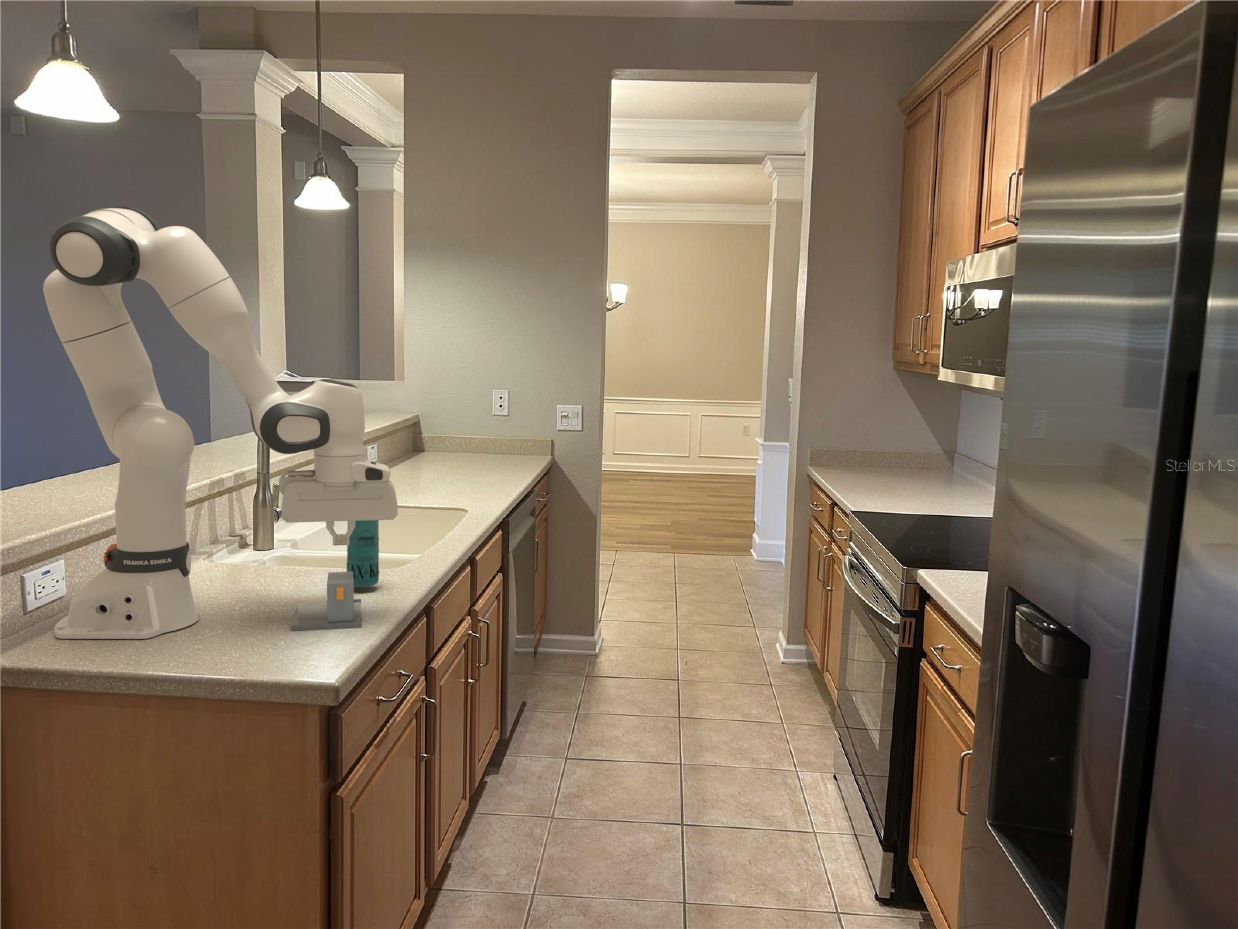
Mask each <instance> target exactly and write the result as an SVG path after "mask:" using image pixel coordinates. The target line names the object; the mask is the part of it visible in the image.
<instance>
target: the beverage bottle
mask: <svg viewBox="0 0 1238 929" xmlns="http://www.w3.org/2000/svg"><path fill="white" fill-rule="evenodd" d="M379 523H380V520H365V521H355V528H354V530H353V532H352V533H351V535H350V536H349V540H350V543H349V545H346V547H347V548H346V572H353V587H360V588H361V587H370V586H374V585H377V584H378V582H379V579H380V565H379V564H380V561H379V560H380V550H379V549H380V547H379V546H380V544H379V542H380V537H379V529H380V528H379ZM348 529H349V527H348V526H347V530H348Z"/></svg>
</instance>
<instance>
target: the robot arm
mask: <svg viewBox="0 0 1238 929" xmlns="http://www.w3.org/2000/svg"><path fill="white" fill-rule="evenodd" d="M49 251H50V253H49V254H50V256H51V257H50V258H51V261H52V262H53V265H54V266H55V267H56V268H55V270H53V271H51V273H49V275H48V276H47V277H46V278H45V280H44V281H43V285H42V290H43V295H44V299H45V304H46V306H47V310H48V313H49V315H50V319H51V321H52V324H53V326H54V329H55V331H56V333H57V334H56V335H57V336H58V337H59V340H60V342H61V344H62V346H63V348H64V351H65V352H66V355H67V356H68V358H69V360H70V363H71V365H72V366H73V369H74V370H75V372H76V374H77V376H78V378H79V380H80V382H81V384H82V387H83V389H84V392H85V394H86V397H87V400H88V402H89V405H90V407H91V411H92V413H93V415H94V418H95V420H96V423H97V425H98V427H99V430H100V432H101V434H102V437H103V439H104V441H105V443H106V445H107V448H108V449H109V451H110V452H111V453H112V454H113V455H114V456H115V457H116V458H118V459H119V476H118V485H117V486H118V487H117V492H116V493H117V494H116V499H115V502H114V512H115V514H114V515H115V517H114V518H115V534H116V535H115V538H116V543H113V544H110V545H109V546H108V547H107V548H106V552H104V554H103V555H104V556H102V558H103V559H102V561H103V563H104V567H105V569H103V570H102V571H101V572H99V573H98V574H97V575H95V576H94V577H92V578H91V579H90V580H89V581H87V582H86V583H85V584H84V585H82V586H81V587H80V588H79V589H78V590H76V592H75V593H74V594H73V596H72V598H71V602H70V605H69V608H68V609H69V610H68V615H66V616H64V617H63V618H61V619H60V620H59V621H58V622H57V623H56V624H55V626H54V627H53V628H54V629H53V636H54V637H55V638H57V639H63V640H64V639H66V640H67V639H68V640H69V639H72V640H73V639H79V640H81V639H82V640H87V639H89V640H90V639H91V640H94V639H95V640H96V639H98V640H99V639H101V640H106V639H107V640H114V639H115V640H124V639H125V640H145V639H150V638H154V637H156V636H159V635H161V634H166V633H170V632H173V631H176V630H182V629H184V628H186V627H189V626H192V625H193V624H195V623H197V622H198V621H199V619H200V616H199V613H198V609H197V607H196V604H195V601H194V595H193V592H192V588H191V587H192V586H191V581H190V579H191V578H190V574H191V569H192V566H191V565H192V562H191V560H192V559H191V558H192V557H191V549H190V542H188V541H187V522H186V521H187V517H186V514H187V512H186V497H187V490H188V489H187V488H188V484H189V483H188V482H189V477H190V476H189V475H190V468H191V457H192V455H193V452H194V448H195V438H194V434H193V431H192V429H191V428H190V426H189V424H188V423H187V422H186V421H185V419H184V418H183V417H182V416H181V415H180V414H178V413H176V412H174V411H172V410H169V409H167V408H166V406H165V405H164V402H163V400H162V397H161V395H160V392H159V389H158V386H157V382H156V379H155V375H154V372H153V364H152V362H151V360H150V357H149V355H148V353H147V351H146V348H145V346H144V344H143V343H142V341H141V338H140V336H139V334H138V332H137V330H136V327H135V325H134V323H133V321H132V319H131V316H130V314H129V313H128V310H127V308H126V306H125V304H124V302H123V299H122V294H121V291H122V290H121V288H122V285H123V283H130V282H132V281H134V280H135V279H141V280H142V281H145V282H147V283H149V284H150V285H151V286H152V287H153V289H154V290H155V291H156V293H158V295H159V296H160V298H161V300H162V301H163V303H164V304H165V306H166V308H168V310H169V312H170V313H171V315H172V316H173V317H174V319H175V320H176V322H178V324H179V325H180V326H181V327H182V329H183V330H184V331H185V332H186V333H187V334H188V335H189V336H190V337H191V339H193V340H194V341H195V342H196V343H197V344H198V345H199V346H201V347H202V348H203V349H204V350H206V351H208V353H210V354H211V356H213V357H214V358H215V359H216V360H217V361H218V362H219V363H220V364H221V365H222V366H223V368H224V369H225V371H226V372H227V374H228V375H229V376H230V379H231V380H232V381H233V383H234V384H235V386H236V387H237V388H238V390H239V392H240V395H242V396H243V398H244V400H245V402H246V403H247V406H248V409H249V414H250V420H251V421H250V422H251V426H252V429H253V433H254V435H255V436H256V438H258V441H260V442H262V443H263V444H264V445H265V446H267V447H268V448H269V449H270V450H272V451H274V452H276V453H279V454H281V455H282V454H283V455H294V454H299V453H303V452H307V451H312V450H313V462H314V463H313V469H311V470H310V469H306V470H305V469H304V470H294V469H293V470H288V471H287V472H285V473H283V474H282V475H280V477H279V479H278V489H279V492H280V494H281V495H282V500H281V512H280V514H281V519H282V520H283V522H285V523H286V524H287V523H288V524H289V523H291V524H292V523H293V524H294V523H319V522H320V523H323V522H325V529H326V530H327V531H328V533H329V535H330V536H331V537H332V546H333V547H334V546H335V547H336V546H347V545H349V543H350V540H349V536H350V535H351V533H352V532H353V530H354V528H355V521H365V520H379V521H392V520H395V519H396V518H397V516H398V515H399V509H398V508H399V507H398V498H397V494H396V489H395V488H396V487H395V485H394V483H393V482H392V480H390V478H391V469H390V467H389V466H388V465H386V464H384V463H380V462H377V461H373V460H370V459H366V449H365V447H364V442H363V441H364V440H363V439H364V435H365V431H366V429H365V428H366V424H365V423H366V421H365V420H366V419H365V408H364V399H363V396H362V392H361V390H360V389H359V388H358V387H357V386H356V385H354V384H353V383H350V382H345V381H340V380H335V379H329V378H321V379H317V381H315V383H314V384H312V385H310V386H308V387H307V388H305V389H303V390H300V391H299V392H296V393H294V394H290V393H288V392H287V391H286V390H285V389H284V388H282V387H281V385H280V384H279V383H278V382H277V380H276V379H275V377H274V375H273V373H272V372H271V371H270V369H269V367H268V366H267V365H266V363H265V361H264V360H263V357H261V355H260V353H259V351H258V350H257V348H256V346H255V344H254V340H253V337H252V332H251V323H250V322H251V321H250V319H251V318H250V314H249V311H248V308H247V306H246V303H245V301H244V298H243V296H242V294H241V292H240V291H239V289H238V287H237V286H236V283H235V281H234V280H233V279H232V277H231V276H230V274H229V272H228V270H227V269H226V268H225V267H224V265H223V263H222V262H221V261H220V260H219V258H218V257H217V256H216V255H215V253H214V252H213V251H212V249H211V248H210V247H209V246H208V245H207V244H206V243H205V242H204V240H202V238H201V237H200V236H199V235H198V234H197V233H196V232H195V231H193V230H192V229H191V228H189V227H186V226H182V225H171V226H165V227H163V228H161V227H160V225H159V224H158V222H157V220H155V219H154V218H153V217H152V216H151V215H150V214H148V213H146V212H144V211H143V210H140V209H137V208H134V207H128V206H116V207H110V208H108V207H107V208H100V209H95V210H92V211H90V212H88V213H86V214H83V215H81V216H76V217H72V218H70V219H68V220H67V221H65V222H63V223H62V224H61V225H60V226H59V227H57V229H56V230H55V232H54V233H53V234H52V237H51V239H50V244H49ZM335 522H347V530H346V533H338V534H337V533H336V531H335V529H334V527H335ZM348 527H349V529H348Z"/></svg>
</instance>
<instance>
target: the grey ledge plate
mask: <svg viewBox="0 0 1238 929" xmlns="http://www.w3.org/2000/svg"><path fill="white" fill-rule="evenodd" d="M353 611H354V620H350V621H331V622H327V600H315V601H313V600H312V601H311V600H310V601H309V600H308V601H299V602H297V608H295V609H294V610H293V614H292V619H291V621H290V622H291V624H290V632H298V631H318V630H337V629H351V628H353V629H356V628H362V598H359V599H358V598H356V599H353Z"/></svg>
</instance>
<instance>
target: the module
mask: <svg viewBox="0 0 1238 929" xmlns="http://www.w3.org/2000/svg"><path fill="white" fill-rule="evenodd" d="M354 588H355V586H353V572H347V571H337V572H336V571H333V572H332V571H331V572H327V581H326V601H327V622H331V621H350V620H354V611H353V599H354V598H355V597H354V596H355V595H354V592H355V591H354Z"/></svg>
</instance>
